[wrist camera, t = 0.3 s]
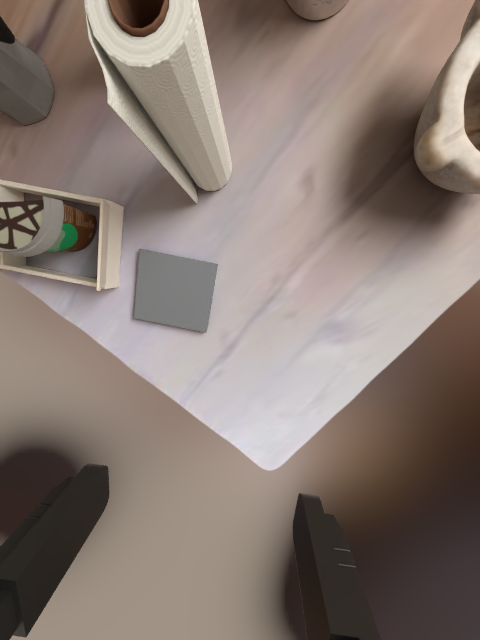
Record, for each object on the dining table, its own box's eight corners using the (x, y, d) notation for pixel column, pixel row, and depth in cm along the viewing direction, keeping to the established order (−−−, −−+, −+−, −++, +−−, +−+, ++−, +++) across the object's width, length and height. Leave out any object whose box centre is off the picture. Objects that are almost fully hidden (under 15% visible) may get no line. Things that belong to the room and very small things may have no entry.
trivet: (142, 249, 36) (139, 248, 35) (217, 264, 35) (216, 264, 34) (136, 316, 38) (133, 318, 37) (206, 330, 38) (205, 332, 37)
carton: (6, 184, 35) (-67, 159, 27) (137, 209, 34) (102, 192, 26) (10, 265, 37) (-56, 265, 29) (131, 289, 37) (98, 295, 29)
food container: (39, 260, 37) (-38, 258, 27) (29, 220, 36) (-55, 202, 26) (111, 257, 36) (59, 253, 26) (105, 215, 35) (47, 195, 25)
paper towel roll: (219, 135, 31) (152, -124, 11) (240, 177, 32) (216, 17, 12) (175, 164, 33) (38, -19, 12) (197, 204, 34) (105, 101, 13)
